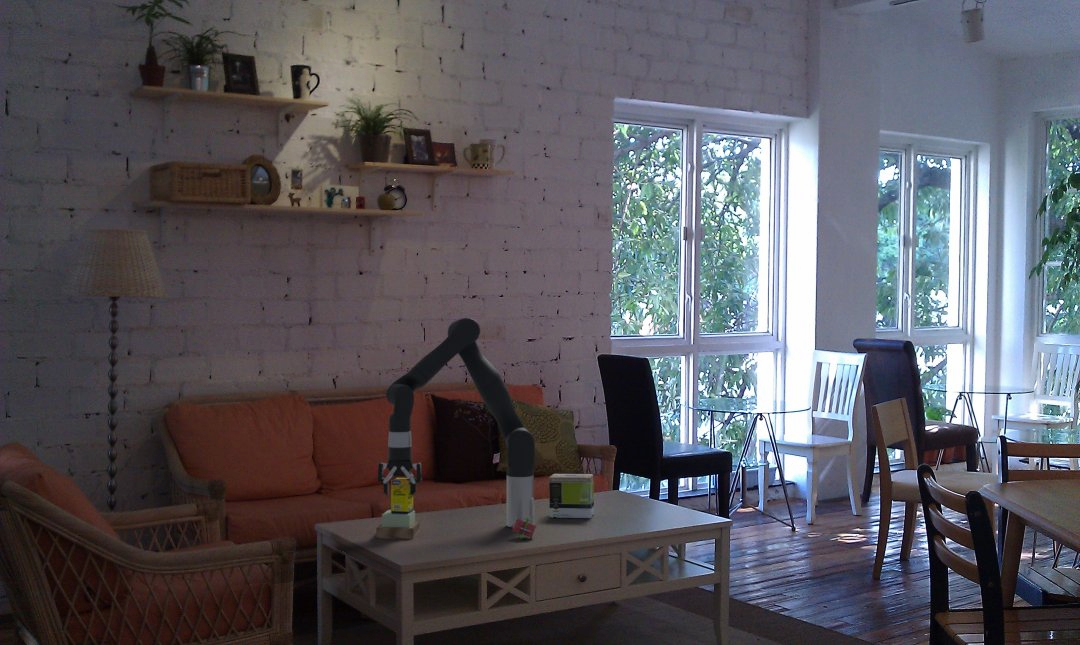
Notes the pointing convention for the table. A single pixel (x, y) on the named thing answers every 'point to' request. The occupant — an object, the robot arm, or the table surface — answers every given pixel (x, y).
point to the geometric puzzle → (524, 528)
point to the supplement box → (401, 496)
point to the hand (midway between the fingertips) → (400, 494)
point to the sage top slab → (398, 519)
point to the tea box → (571, 495)
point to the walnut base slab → (398, 531)
